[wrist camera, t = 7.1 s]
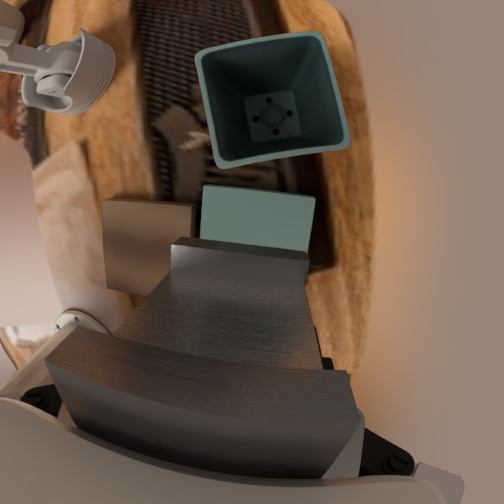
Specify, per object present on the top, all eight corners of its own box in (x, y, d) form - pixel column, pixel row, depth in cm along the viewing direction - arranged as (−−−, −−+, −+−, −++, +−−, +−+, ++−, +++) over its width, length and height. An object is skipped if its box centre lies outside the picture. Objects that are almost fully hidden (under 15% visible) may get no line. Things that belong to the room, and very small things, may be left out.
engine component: (108, 109, 24) (123, 33, 21) (-52, 84, 4) (4, -37, 1) (46, 121, 24) (59, 54, 21) (-83, 123, 5) (-53, 24, 2)
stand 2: (296, 291, 28) (298, 300, 26) (202, 279, 29) (198, 287, 27) (312, 196, 25) (315, 198, 23) (208, 184, 26) (203, 185, 24)
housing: (181, 236, 11) (44, 359, 3) (305, 251, 11) (360, 422, 3) (184, 380, 13) (136, 506, 6) (276, 393, 13) (271, 531, 5)
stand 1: (193, 295, 29) (188, 303, 27) (115, 281, 30) (107, 288, 28) (197, 203, 26) (191, 206, 24) (112, 197, 27) (102, 200, 25)
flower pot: (235, 170, 25) (216, 171, 16) (217, 86, 23) (192, 51, 14) (326, 155, 24) (353, 148, 15) (307, 70, 21) (322, 30, 13)
